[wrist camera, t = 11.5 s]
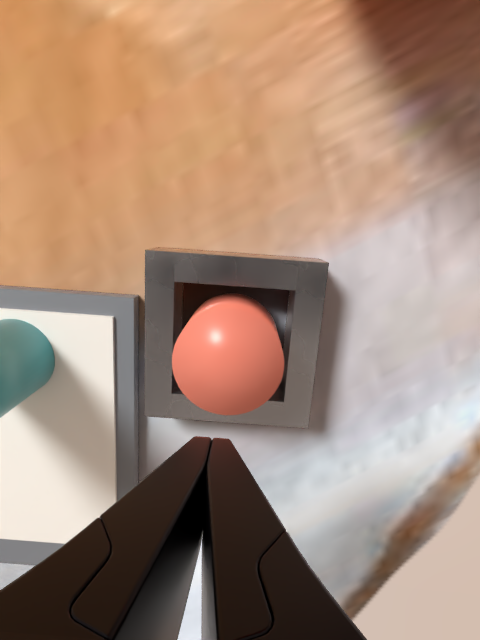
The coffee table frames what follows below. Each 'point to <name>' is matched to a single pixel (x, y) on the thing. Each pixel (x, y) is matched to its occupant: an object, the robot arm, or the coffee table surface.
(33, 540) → the drawing board
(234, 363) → the button
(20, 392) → the marker
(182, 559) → the robot arm
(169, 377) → the button housing
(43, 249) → the coffee table surface
